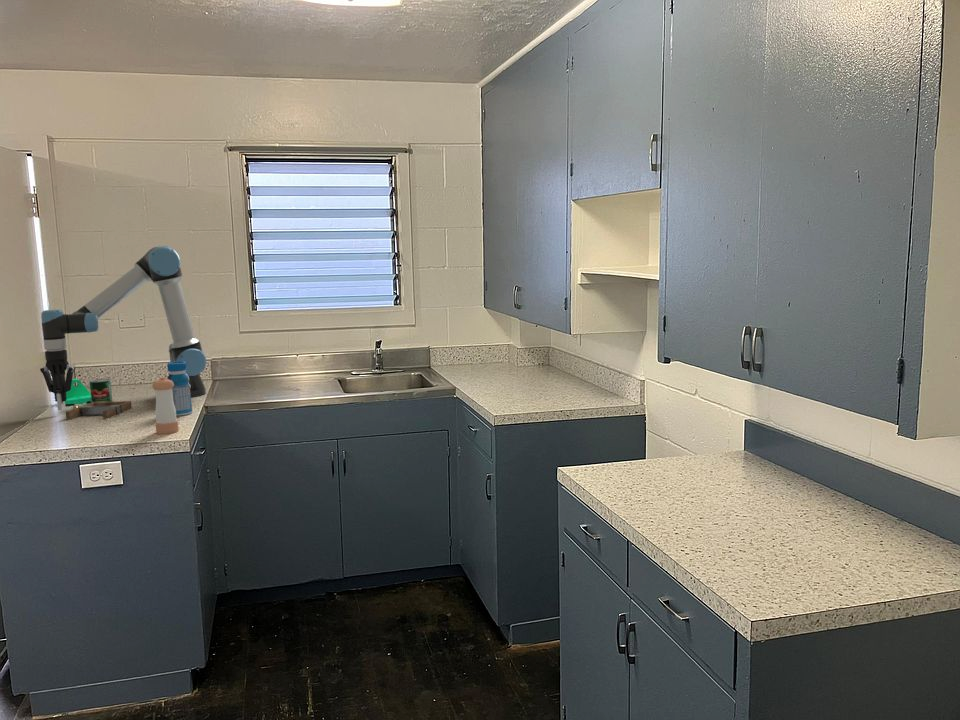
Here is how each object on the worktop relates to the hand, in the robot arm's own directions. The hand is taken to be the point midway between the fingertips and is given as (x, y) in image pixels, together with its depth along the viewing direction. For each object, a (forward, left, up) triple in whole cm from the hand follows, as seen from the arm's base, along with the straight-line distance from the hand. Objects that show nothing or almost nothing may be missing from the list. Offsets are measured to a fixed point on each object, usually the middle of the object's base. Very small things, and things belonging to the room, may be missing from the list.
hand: (61, 409), depth 311 cm
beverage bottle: (-49, +3, -3) cm, 49 cm away
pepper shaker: (-56, +32, -3) cm, 65 cm away
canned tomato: (-8, -16, -3) cm, 18 cm away
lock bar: (-15, 0, -2) cm, 15 cm away
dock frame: (-15, 0, -2) cm, 15 cm away
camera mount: (+7, -24, -3) cm, 25 cm away
